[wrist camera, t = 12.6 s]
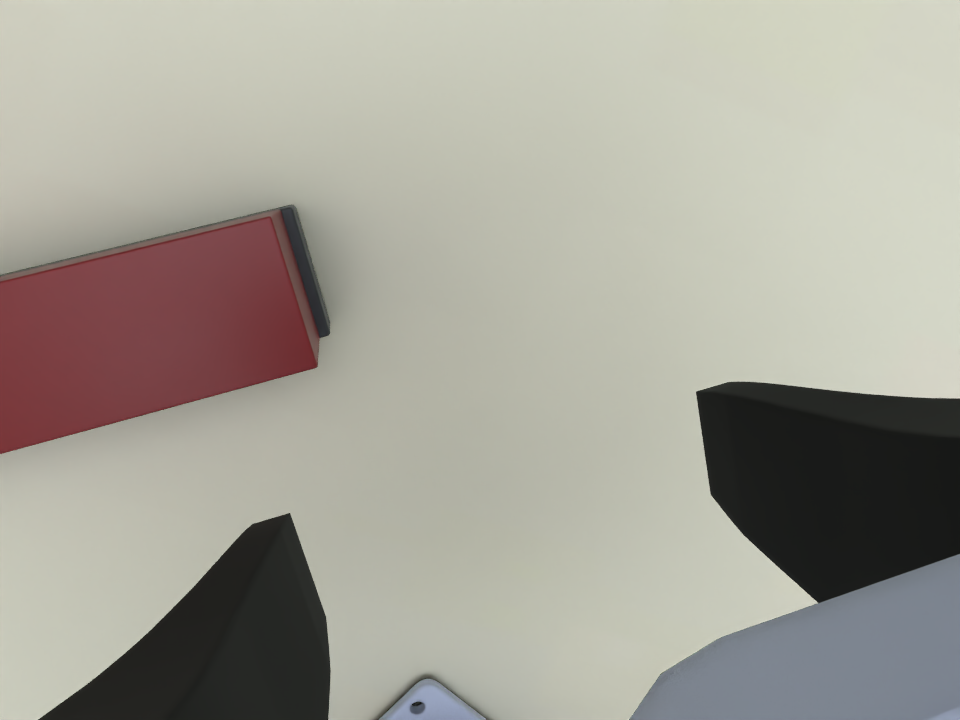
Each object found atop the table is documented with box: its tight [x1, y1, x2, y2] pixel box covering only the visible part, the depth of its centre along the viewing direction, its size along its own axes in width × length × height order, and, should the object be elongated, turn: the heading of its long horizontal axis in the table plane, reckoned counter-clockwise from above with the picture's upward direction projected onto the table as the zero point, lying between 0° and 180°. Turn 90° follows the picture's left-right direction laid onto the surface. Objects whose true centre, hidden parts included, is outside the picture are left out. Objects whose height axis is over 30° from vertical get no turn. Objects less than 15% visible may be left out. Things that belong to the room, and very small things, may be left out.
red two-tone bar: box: [0, 205, 330, 454], centre depth 17 cm, size 13×4×6 cm, turn 103°
